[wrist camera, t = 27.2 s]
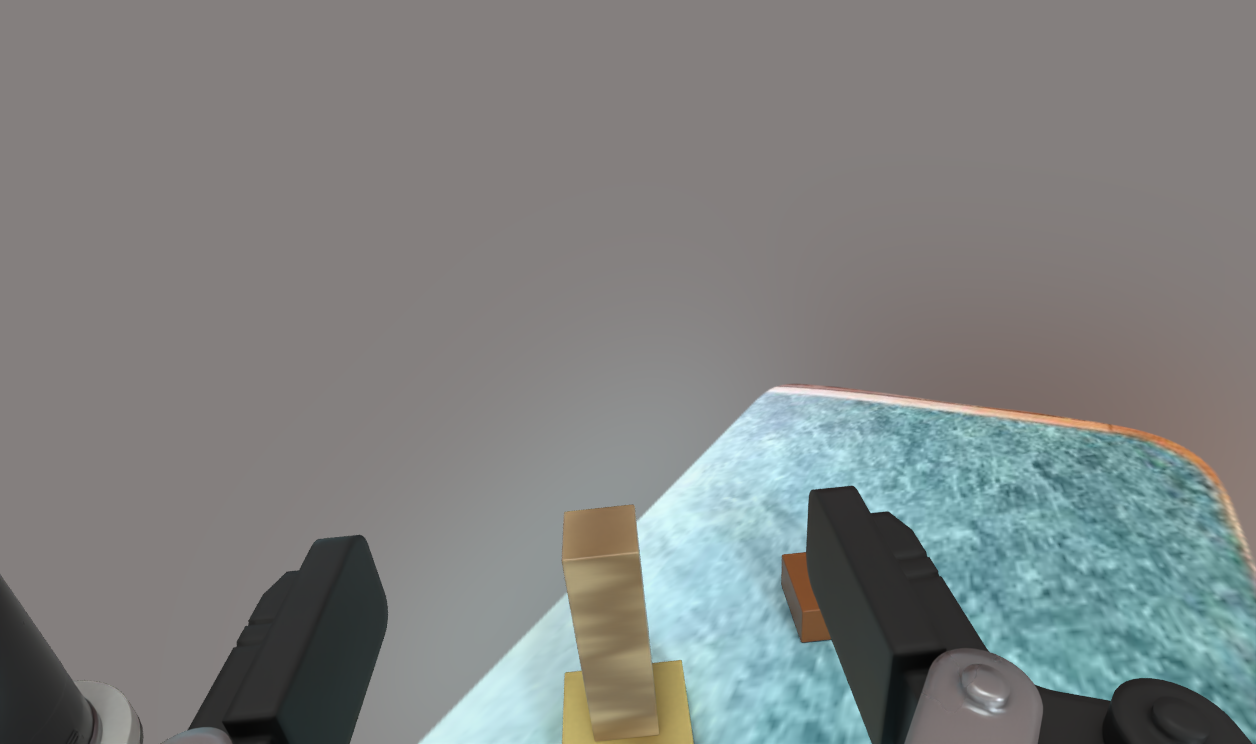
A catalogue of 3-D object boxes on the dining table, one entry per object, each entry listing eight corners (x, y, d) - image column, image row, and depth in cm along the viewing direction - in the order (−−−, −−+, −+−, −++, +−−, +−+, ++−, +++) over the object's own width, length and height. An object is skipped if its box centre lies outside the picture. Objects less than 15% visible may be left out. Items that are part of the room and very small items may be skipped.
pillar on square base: (567, 794, 32) (520, 584, 26) (569, 698, 36) (530, 500, 30) (697, 779, 32) (681, 566, 26) (683, 685, 36) (667, 485, 30)
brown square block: (801, 643, 38) (802, 611, 37) (781, 584, 42) (781, 554, 40) (880, 634, 38) (884, 602, 37) (853, 576, 42) (855, 546, 40)
